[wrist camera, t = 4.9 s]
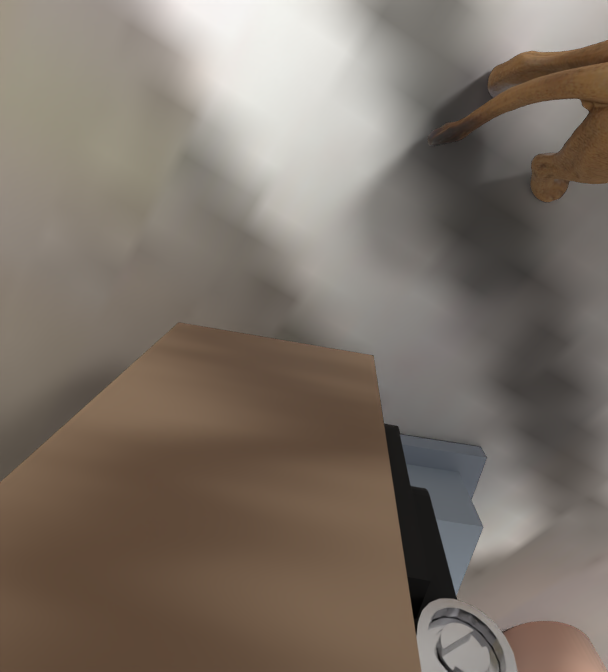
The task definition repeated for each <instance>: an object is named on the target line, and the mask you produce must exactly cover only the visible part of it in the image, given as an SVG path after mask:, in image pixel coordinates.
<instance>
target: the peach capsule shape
mask: <svg viewBox="0 0 608 672" xmlns="http://www.w3.org/2000/svg"><path fill="white" fill-rule="evenodd" d="M503 634H504V635H505V637H506V639H507V641H508V643H509V645H510V647H511V649H512V651H513V653H514V657H515V661H516V666H517V672H608V671H607V669H606V668H605V666H604V664H603V662H602V661H601V659H600V657H599V655H598V653H597V652H596V650H595V648H594V646H593V645H592V643H591V641H590V640H589V638H588V637H587V636H586V635H585V634H584V633H583V632H582V631H580V630H579V629H577V628H575V627H573V626H571V625H568V624H564V623H560V622H553V621H537V622H530V623H525V624H521V625H518V626H515V627H513V628H511V629H508V630H507V631H505V632H503Z"/></svg>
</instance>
